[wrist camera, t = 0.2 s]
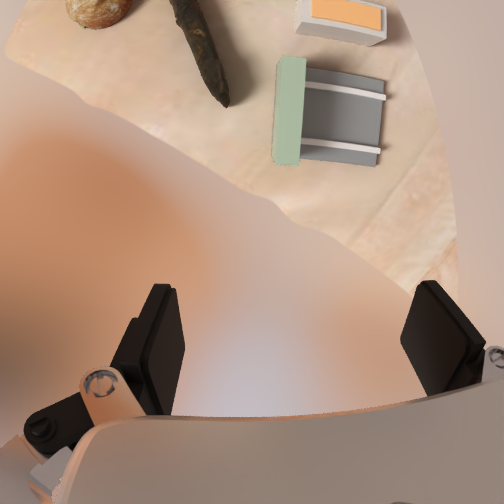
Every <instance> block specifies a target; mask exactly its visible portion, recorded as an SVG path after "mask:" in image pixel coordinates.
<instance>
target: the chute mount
mask: <svg viewBox="0 0 504 504" xmlns="http://www.w3.org/2000/svg"><path fill="white" fill-rule="evenodd" d="M383 87H384V81H381V80H376V79H372V78H367V77H363V76H358V75H353V74H347V73H342V72H336V71H330V70H323V69H316V68H309V67H306V58H299V57H290V56H282V57H281V59H280V61H279V62H278V64H277V68H276V86H275V102H274V118H273V134H272V149H271V156H272V158H273V160H274V163H275V165H289V166H299V159H310V160H320V161H330V162H339V163H347V164H355V165H363V166H370V167H375V165H376V158H377V154H380V150H381V148H378V142H379V133H380V123H381V113H382V101H386V95H383Z"/></svg>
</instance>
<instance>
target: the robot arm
mask: <svg viewBox="0 0 504 504" xmlns="http://www.w3.org/2000/svg"><path fill="white" fill-rule="evenodd" d="M400 340H401V345H402V346H403V349H404V350H405V352H406V354H407V356H408V358H409V360H410V362H411V364H412V366H413V368H414V370H415V372H416V374H417V376H418V378H419V380H420V382H421V384H422V386H423V388H424V390H425V392H426V394H427V396H428V397H424V398H420V399H415V400H410V401H405V402H400V403H394V404H389V405H383V406H378V407H371V408H364V409H357V410H350V411H342V412H333V413H323V414H312V415H298V416H280V417H200V416H172V415H171V412H172V407H173V402H174V397H175V393H176V388H177V383H178V379H179V374H180V370H181V365H182V360H183V356H184V352H185V342H184V336H183V331H182V324H181V318H180V313H179V306H178V299H177V293H176V289H175V288H171V286H170V284H154V286H153V287H152V289H151V292H150V294H149V296H148V298H147V300H146V302H145V304H144V306H143V308H142V310H141V313H140V315H139V317H138V318H132V320H131V321H130V323H129V325H128V327H127V330H126V332H125V334H124V336H123V338H122V340H121V342H120V344H119V346H118V349H117V351H116V353H115V355H114V357H113V360H112V362H111V364H110V366H109V367H108V366H100V367H96V368H93V369H91V370H89V371H87V372H86V373H85V374H84V375H83V377H82V378H81V380H80V384H79V389H80V392H78V393H76V394H74V395H72V396H70V397H67V398H65V399H63V400H61V401H59V402H57V403H55V404H53V405H51V406H48V407H46V408H44V409H42V410H40V411H37V412H35V413H34V414H32V415H31V416H30V417H29V418H28V419H27V421H26V423H25V425H24V434H23V435H22V436H20V437H19V436H18V435H16V436H15V437H13V438H12V439H11V440H10V441H9V442H7V443H6V444H5V445H4V446H3V447H2V448H0V504H53V503H52V498H51V496H52V491H53V490H54V488H55V487H56V486H57V485H58V484H59V483H60V485H59V488H58V491H57V495H56V498H55V501H54V504H504V348H502V347H499V346H490V347H488V348H487V350H486V351H485V350H484V349H483V347H484V345H485V344H486V341H485V340H484V338H483V337H482V336H481V334H480V333H479V332H478V330H477V329H476V328H475V327H474V325H473V324H472V323H471V322H470V320H469V319H468V318H467V317H466V316H465V314H464V313H463V312H462V311H461V309H460V308H459V307H458V306H457V305H456V303H455V302H454V301H453V300H452V299H451V297H450V296H449V295H448V294H447V293H446V292H445V290H444V289H443V288H442V287H441V286H440V285H439V284H438V283H437V281H435V280H426V281H422V282H421V283H420V284H419V285H418V286H417V288H416V291H415V295H414V298H413V301H412V304H411V307H410V311H409V313H408V316H407V319H406V323H405V325H404V328H403V331H402V334H401V337H400ZM61 477H62V479H61V481H60V480H59V479H60V478H61Z"/></svg>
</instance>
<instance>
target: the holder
mask: <svg viewBox="0 0 504 504" xmlns="http://www.w3.org/2000/svg"><path fill="white" fill-rule="evenodd" d="M386 33H387V22H386V7H383V6H379V5H376V4H372V3H369V2H365V1H361V0H298V1H297V3H296V7H295V30H294V34H300V35H307V36H315V37H321V38H327V39H333V40H339V41H344V42H349V43H354V44H358V45H363V46H367V47H369V46H372V45H374V44H376V43H378V42H381V41H383V40H385V39H386Z"/></svg>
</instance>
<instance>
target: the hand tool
mask: <svg viewBox="0 0 504 504" xmlns="http://www.w3.org/2000/svg"><path fill="white" fill-rule="evenodd" d="M169 1H170V3H171V4H172V6H173V10H174V13H175V17H176V18H177V20H176V23H177V25H178V26H179V27H180V28H182V30H183V32H184V34H185V37H186V39H187V41H188V44H189V46H190V48H191V50H192V53H193V55H194V57H195V60H196V63H197V65H198V68H199V70H200V73H201V76H202V78H203V80H204V82H205V84H206V86H207V87H208V89H209V91H210V92H211V94H212V96H214V97H215V98H216V100H217V101H219V102H220V103H221V104H222V105H223V106H224V107H225V108H227V107H228V106H229V102H230V99H229V93H228V92H229V90H228V85H227V81H226V79H225V75H224V70H223V67H222V64H221V63H220V60H219V57H218V54H217V52H216V49H215V46H214V43H213V41H212V38H211V35H210V33H209V30H208V27H207V25H206V22H205V19H204V17H203V13H202V11H201V9H200V7H199V4H198V2H197V0H169Z"/></svg>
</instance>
